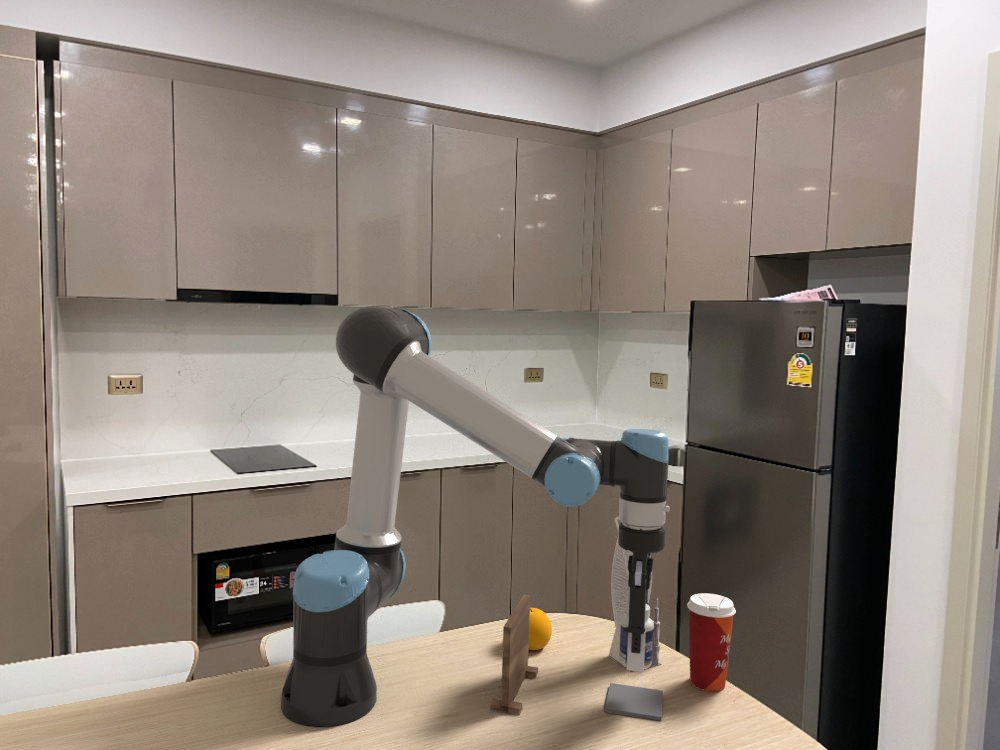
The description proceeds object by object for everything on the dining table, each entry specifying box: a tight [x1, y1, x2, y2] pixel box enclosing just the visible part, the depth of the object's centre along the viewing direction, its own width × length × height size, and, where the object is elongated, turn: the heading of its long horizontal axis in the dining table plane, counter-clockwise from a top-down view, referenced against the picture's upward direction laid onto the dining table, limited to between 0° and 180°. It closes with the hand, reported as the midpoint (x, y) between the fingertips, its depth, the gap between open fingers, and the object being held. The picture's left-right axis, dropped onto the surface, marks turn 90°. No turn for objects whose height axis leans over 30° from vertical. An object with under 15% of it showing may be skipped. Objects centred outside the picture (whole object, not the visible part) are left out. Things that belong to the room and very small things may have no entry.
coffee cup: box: [686, 592, 736, 692], centre depth 129 cm, size 8×8×15 cm
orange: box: [528, 607, 553, 651], centre depth 142 cm, size 8×8×8 cm
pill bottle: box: [619, 603, 654, 670], centre depth 121 cm, size 5×5×10 cm
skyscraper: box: [608, 516, 662, 673], centre depth 137 cm, size 8×8×28 cm
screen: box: [488, 594, 539, 716], centre depth 124 cm, size 5×15×14 cm, turn 166°
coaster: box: [604, 682, 664, 722], centre depth 122 cm, size 9×9×1 cm
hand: (636, 661), depth 121 cm, fingers closed on pill bottle, 5 cm apart
